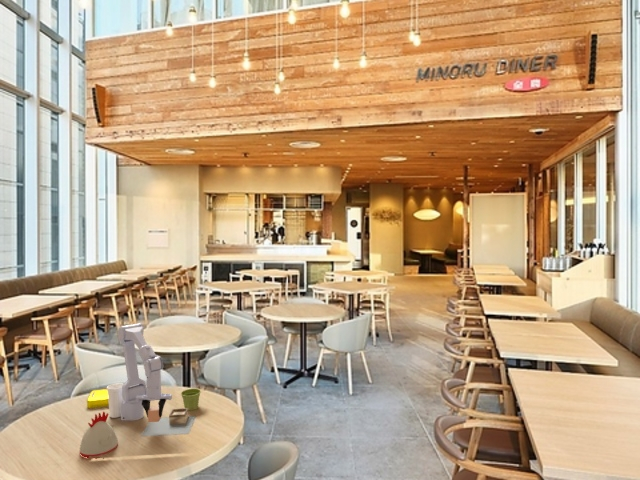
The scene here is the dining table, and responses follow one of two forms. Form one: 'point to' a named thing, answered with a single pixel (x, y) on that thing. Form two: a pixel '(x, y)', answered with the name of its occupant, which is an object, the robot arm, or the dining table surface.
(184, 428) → the grey board
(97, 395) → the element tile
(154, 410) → the terracotta block
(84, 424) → the dining table surface
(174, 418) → the birch socket block
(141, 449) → the dining table surface
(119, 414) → the cup
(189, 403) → the plant pot
